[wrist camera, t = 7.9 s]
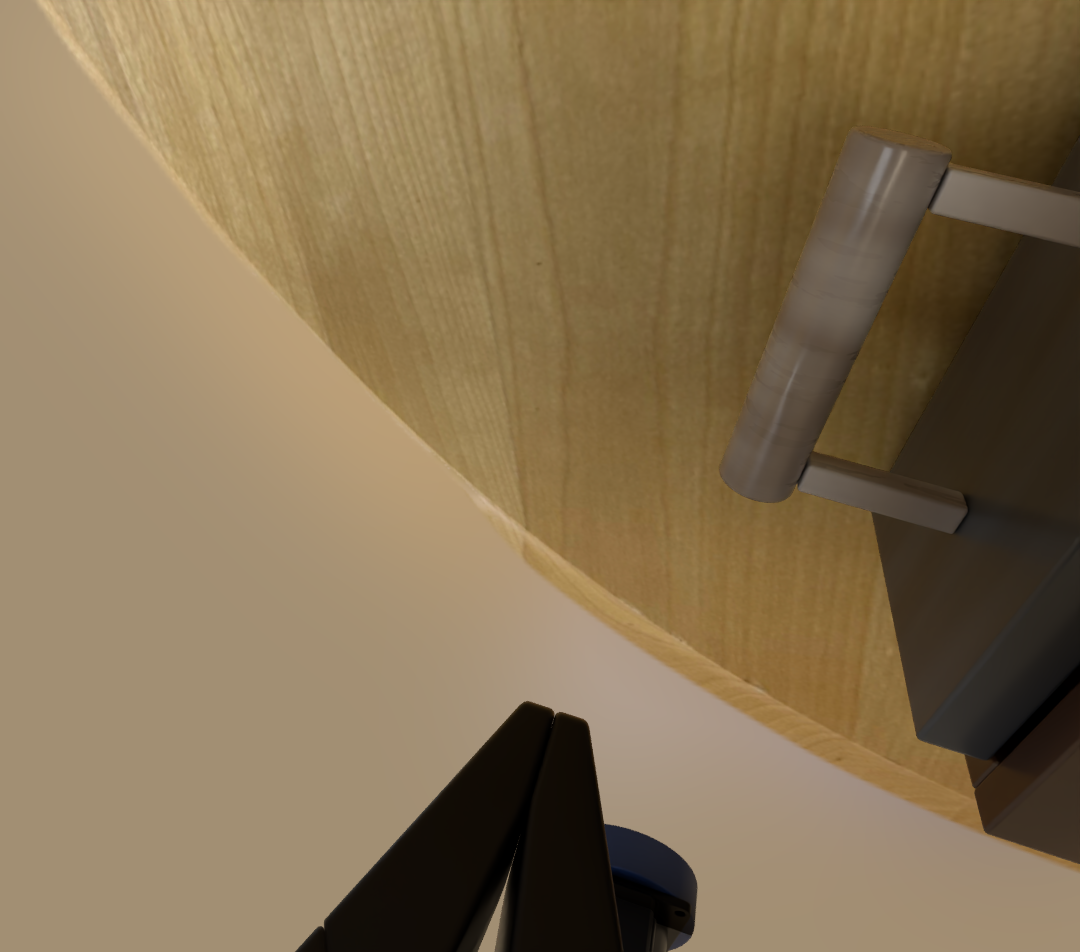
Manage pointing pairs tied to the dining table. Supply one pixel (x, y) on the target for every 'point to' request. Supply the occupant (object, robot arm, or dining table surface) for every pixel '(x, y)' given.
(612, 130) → the dining table surface
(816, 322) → the drawer
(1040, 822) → the cabinet
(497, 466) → the dining table surface
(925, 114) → the dining table surface
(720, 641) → the dining table surface
